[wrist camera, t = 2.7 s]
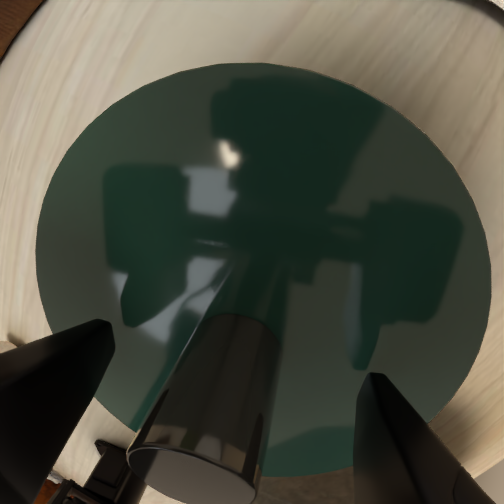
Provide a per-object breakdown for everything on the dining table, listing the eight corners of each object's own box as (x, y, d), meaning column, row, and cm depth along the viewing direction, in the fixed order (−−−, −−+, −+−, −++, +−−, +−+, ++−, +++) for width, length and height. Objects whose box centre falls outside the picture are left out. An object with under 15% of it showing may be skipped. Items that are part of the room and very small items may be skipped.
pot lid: (384, 467, 11) (389, 566, 6) (93, 408, 12) (39, 485, 8) (522, 135, 6) (668, 170, 1) (49, 85, 7) (-93, 93, 3)
